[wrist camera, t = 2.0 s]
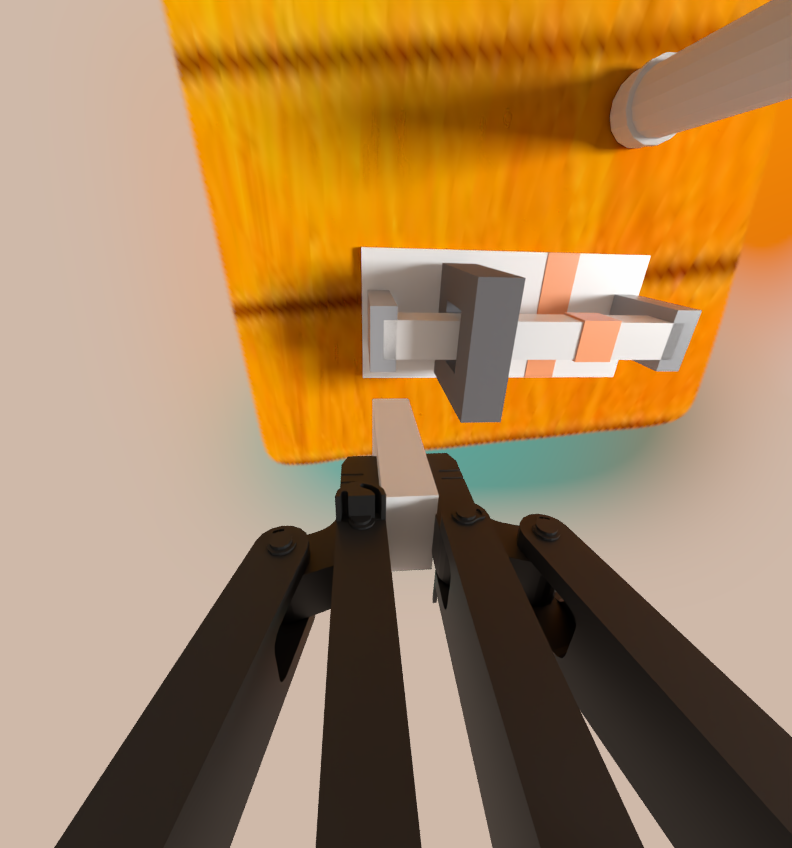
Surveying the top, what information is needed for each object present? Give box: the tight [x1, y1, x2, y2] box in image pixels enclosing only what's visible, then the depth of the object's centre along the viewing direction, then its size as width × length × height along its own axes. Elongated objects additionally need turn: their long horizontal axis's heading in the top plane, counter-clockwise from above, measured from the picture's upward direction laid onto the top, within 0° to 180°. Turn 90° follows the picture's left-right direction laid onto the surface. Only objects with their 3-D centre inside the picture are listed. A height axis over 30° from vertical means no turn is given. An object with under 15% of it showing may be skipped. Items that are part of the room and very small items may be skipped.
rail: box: [361, 247, 702, 378], centre depth 33 cm, size 12×27×9 cm, turn 88°
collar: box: [434, 263, 526, 423], centre depth 30 cm, size 10×3×11 cm, turn 178°
